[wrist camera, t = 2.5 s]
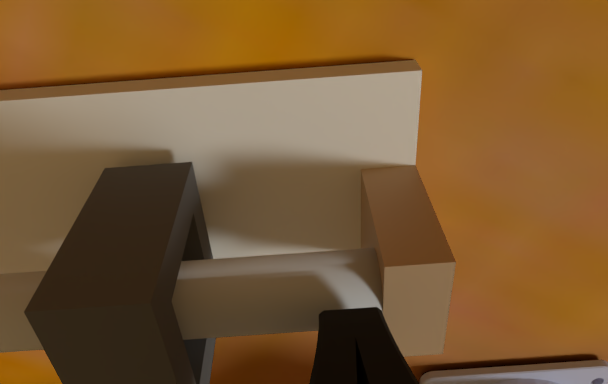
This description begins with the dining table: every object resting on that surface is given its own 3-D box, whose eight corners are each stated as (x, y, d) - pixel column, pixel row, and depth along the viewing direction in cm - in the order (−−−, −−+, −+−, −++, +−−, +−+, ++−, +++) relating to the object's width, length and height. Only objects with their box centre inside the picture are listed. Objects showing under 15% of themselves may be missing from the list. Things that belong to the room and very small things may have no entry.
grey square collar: (192, 162, 14) (150, 303, 9) (221, 296, 17) (199, 451, 12) (104, 167, 14) (23, 311, 9) (149, 301, 17) (103, 457, 12)
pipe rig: (415, 59, 14) (473, 152, 10) (400, 293, 19) (434, 420, 15) (-376, 117, 14) (-662, 233, 10) (-181, 333, 19) (-313, 471, 15)
